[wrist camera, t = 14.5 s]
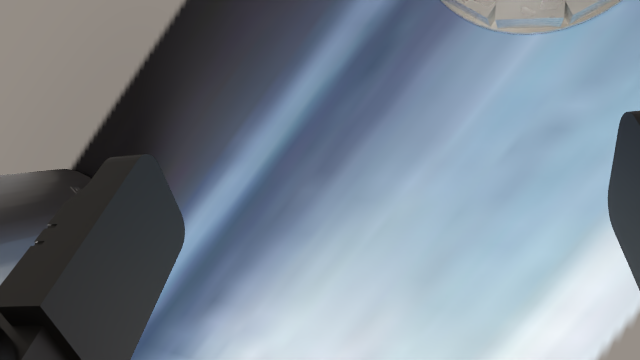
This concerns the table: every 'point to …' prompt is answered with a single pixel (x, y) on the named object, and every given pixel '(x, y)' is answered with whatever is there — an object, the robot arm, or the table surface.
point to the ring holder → (528, 13)
